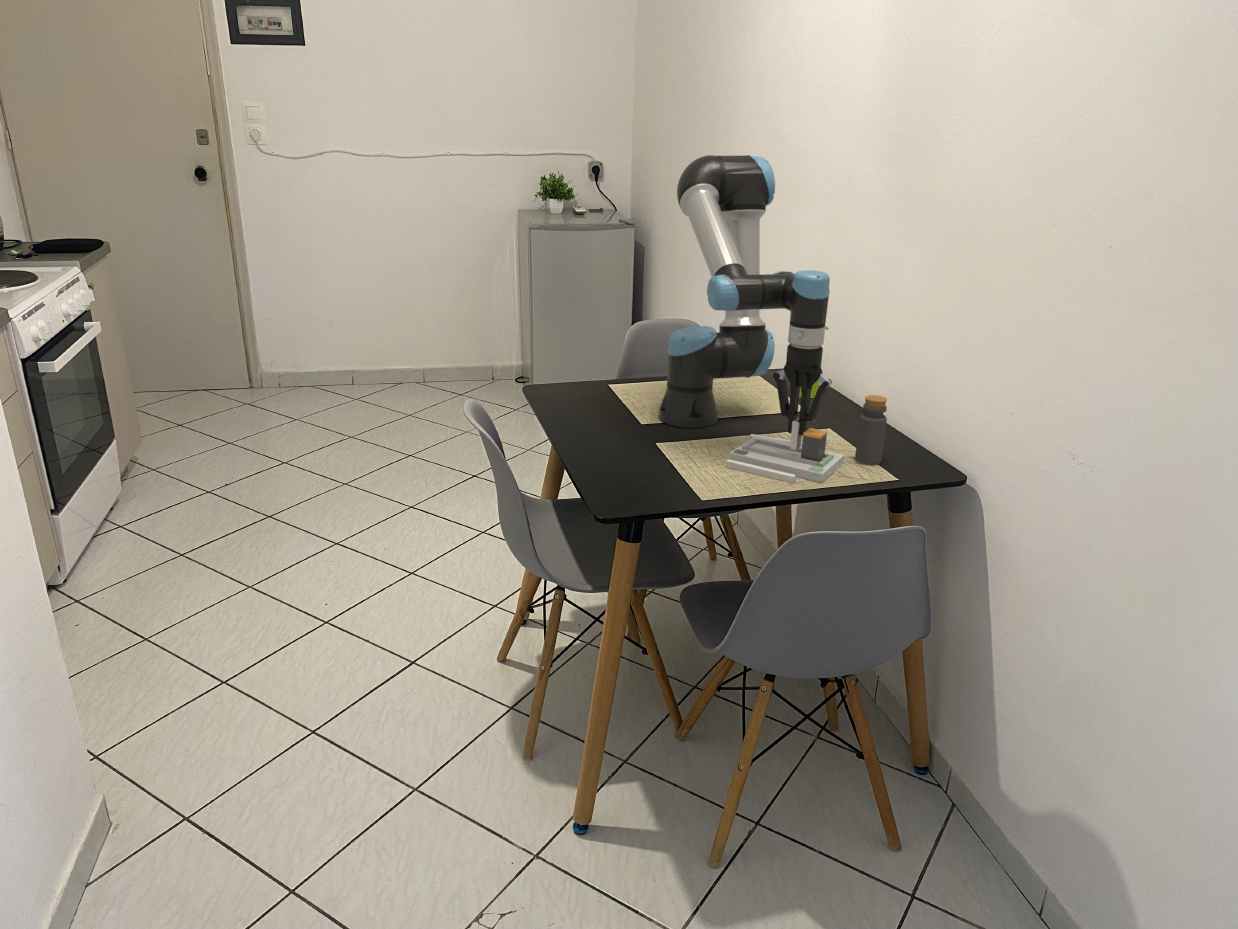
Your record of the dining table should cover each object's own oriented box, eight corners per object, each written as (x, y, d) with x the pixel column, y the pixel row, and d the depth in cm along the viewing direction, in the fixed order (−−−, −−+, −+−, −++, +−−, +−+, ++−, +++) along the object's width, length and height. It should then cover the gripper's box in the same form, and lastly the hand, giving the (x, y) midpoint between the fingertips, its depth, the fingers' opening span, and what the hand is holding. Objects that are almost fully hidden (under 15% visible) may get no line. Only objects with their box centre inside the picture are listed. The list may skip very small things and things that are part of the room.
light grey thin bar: (749, 441, 213) (749, 435, 213) (751, 439, 215) (751, 433, 214) (806, 450, 208) (807, 445, 208) (808, 448, 209) (808, 443, 209)
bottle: (876, 467, 199) (885, 403, 194) (851, 461, 202) (859, 398, 196) (884, 459, 204) (892, 397, 198) (859, 454, 207) (867, 392, 201)
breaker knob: (800, 458, 196) (803, 432, 194) (807, 452, 200) (810, 427, 197) (817, 462, 194) (820, 436, 192) (824, 456, 198) (827, 431, 195)
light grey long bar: (725, 466, 197) (726, 461, 197) (728, 465, 199) (728, 459, 198) (792, 483, 189) (793, 476, 189) (795, 480, 191) (796, 474, 190)
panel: (729, 461, 201) (729, 449, 200) (754, 443, 212) (755, 432, 211) (821, 482, 190) (822, 470, 189) (843, 463, 201) (844, 451, 200)
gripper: (770, 343, 190) (761, 446, 199) (828, 352, 184) (816, 458, 192) (784, 337, 196) (775, 437, 205) (840, 345, 189) (828, 448, 198)
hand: (795, 447), depth 198 cm, fingers closed
